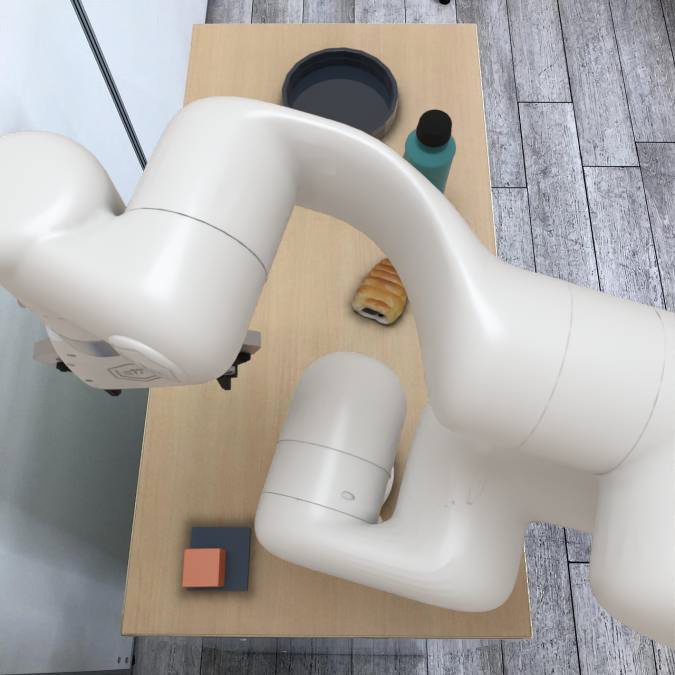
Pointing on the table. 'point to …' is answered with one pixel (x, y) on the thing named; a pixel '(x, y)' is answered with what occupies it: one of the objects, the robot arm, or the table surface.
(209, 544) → the mat
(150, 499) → the table surface
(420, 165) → the beverage bottle
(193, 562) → the block
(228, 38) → the table surface
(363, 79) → the pan
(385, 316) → the pastry
